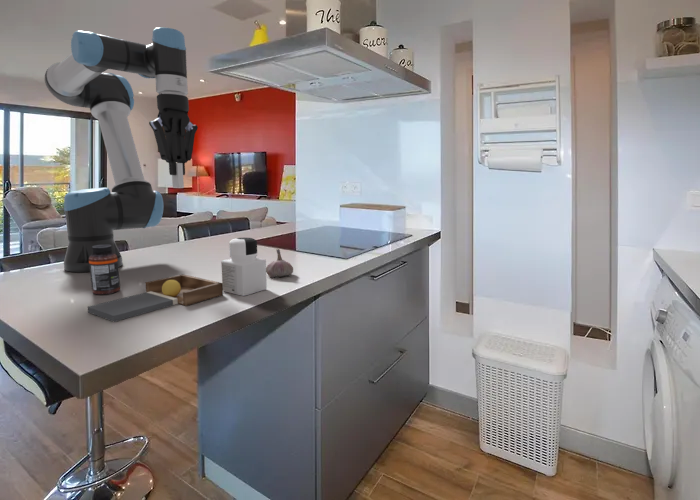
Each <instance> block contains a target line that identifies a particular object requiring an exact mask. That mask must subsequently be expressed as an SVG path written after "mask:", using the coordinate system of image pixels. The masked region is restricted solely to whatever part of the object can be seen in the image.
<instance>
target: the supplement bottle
mask: <svg viewBox="0 0 700 500" xmlns="http://www.w3.org/2000/svg"><path fill="white" fill-rule="evenodd" d="M92 252H93V254H92V255H91V256H90V257H89V266H90V272H89V276H90V281H91V283H90V284H91V291H92V293H93V294H95V295H98V296H99V295H100V296H101V295H102V296H103V295H104V296H105V295H112V294H115V293H117V292H119V291H120V290H121V281H120V271H119V267H118V260H117V255H116V254H114V253H113V252H112V246H111V245H95V246H93V247H92Z"/></svg>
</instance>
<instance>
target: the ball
mask: <svg viewBox="0 0 700 500" xmlns="http://www.w3.org/2000/svg"><path fill="white" fill-rule="evenodd" d="M180 290H181V286H180V284H179V283H178V282H177V281H176V280H168V281H166V282H165V283H164V284H163V286H162V292H163V294H164V295H167V296H170V297H174V296H176V295H178V294H179V292H180Z"/></svg>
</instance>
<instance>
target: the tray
mask: <svg viewBox="0 0 700 500" xmlns="http://www.w3.org/2000/svg"><path fill="white" fill-rule="evenodd" d="M168 280H176V281H177V282H178V283H179V284H180V286H181V290H180V292H179V294H178V295H176V296H174V298H178V304H177V305H182V306H185V307H188V306H192V305H195V304H198V303H201V302H205V301H208V300H212V299H215V298H218V297H221V296H222V297H223V296H224V291H223V285H222V282H220V281H214V280H210V279H206V278H201V277H196V276H192V275H189V274H188V275H187V274H183V273H181V274H177V275H173V276H168V277H165V278H160V279H155V280H151V281H146V282H145V293H146V292H150V291H152V292H156V293H159V294H163V292H162V286H163V284H164V283H165V282H166V281H168ZM163 295H164V294H163Z"/></svg>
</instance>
